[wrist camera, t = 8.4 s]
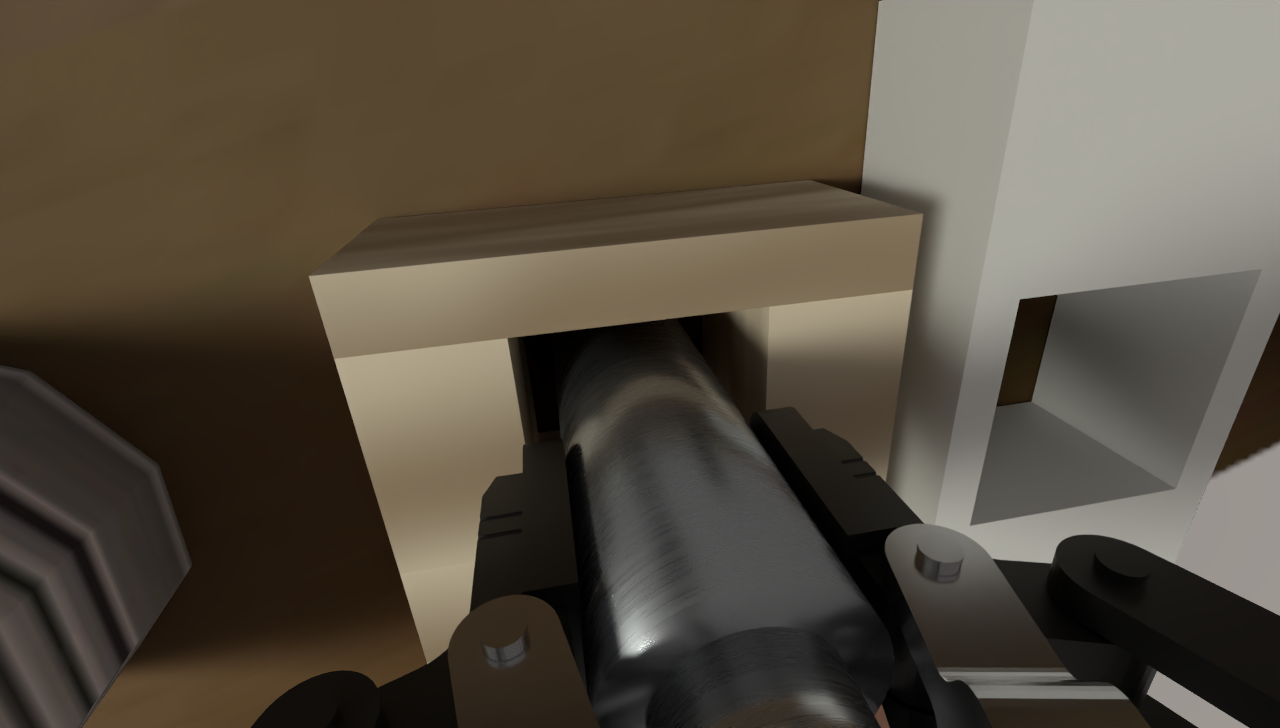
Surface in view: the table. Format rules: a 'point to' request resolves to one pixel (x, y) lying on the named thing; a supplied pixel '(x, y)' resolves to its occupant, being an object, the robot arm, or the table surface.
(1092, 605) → the robot arm
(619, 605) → the stepped metal cylinder
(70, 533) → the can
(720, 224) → the socket block
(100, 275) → the table surface
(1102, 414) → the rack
